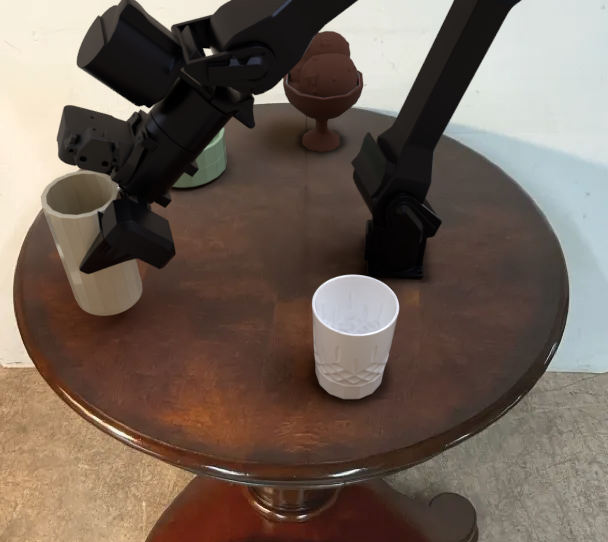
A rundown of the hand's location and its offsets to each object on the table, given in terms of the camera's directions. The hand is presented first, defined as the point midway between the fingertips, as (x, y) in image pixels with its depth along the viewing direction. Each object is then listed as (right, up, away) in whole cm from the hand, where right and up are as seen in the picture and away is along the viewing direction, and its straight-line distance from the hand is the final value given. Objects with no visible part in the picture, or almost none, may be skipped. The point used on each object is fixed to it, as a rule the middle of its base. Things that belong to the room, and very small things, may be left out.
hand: (80, 247), depth 69 cm
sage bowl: (+6, +14, +26) cm, 30 cm away
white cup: (+27, -13, +2) cm, 30 cm away
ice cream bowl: (+25, +19, +31) cm, 44 cm away
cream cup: (+1, -4, +5) cm, 7 cm away
